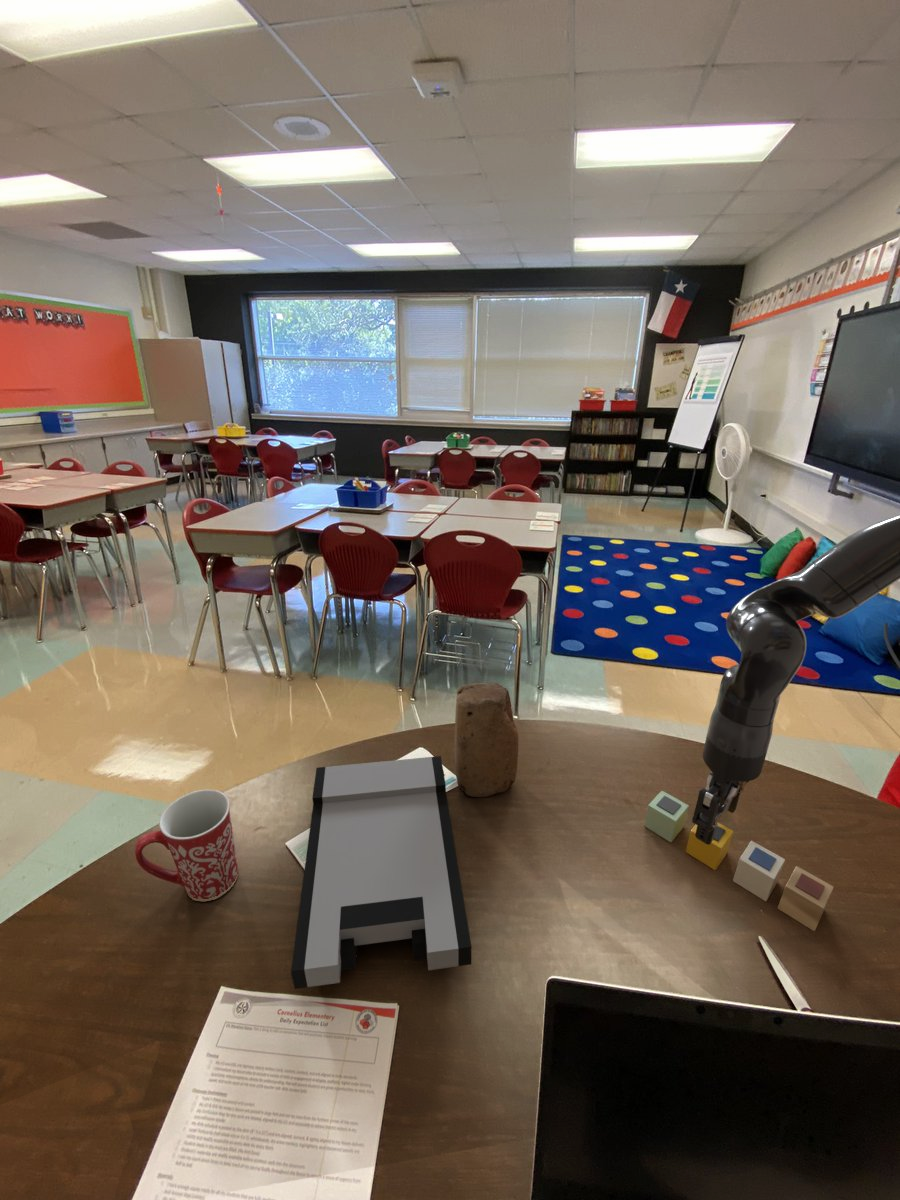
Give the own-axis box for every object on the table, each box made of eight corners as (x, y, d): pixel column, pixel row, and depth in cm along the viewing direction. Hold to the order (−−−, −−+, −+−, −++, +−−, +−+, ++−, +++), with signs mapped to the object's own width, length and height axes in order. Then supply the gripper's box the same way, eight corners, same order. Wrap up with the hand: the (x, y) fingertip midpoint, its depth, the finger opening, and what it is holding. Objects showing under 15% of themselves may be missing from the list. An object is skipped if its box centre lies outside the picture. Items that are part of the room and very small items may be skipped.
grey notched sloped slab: (298, 1007, 64) (289, 964, 61) (321, 804, 93) (316, 767, 90) (470, 983, 67) (471, 940, 63) (441, 792, 95) (440, 756, 92)
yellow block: (698, 835, 87) (703, 813, 85) (727, 852, 84) (734, 830, 82) (685, 852, 84) (690, 829, 82) (715, 870, 81) (721, 848, 79)
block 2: (657, 811, 91) (662, 789, 89) (684, 826, 88) (689, 804, 86) (644, 826, 88) (648, 804, 86) (670, 842, 85) (675, 820, 83)
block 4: (788, 888, 78) (796, 864, 76) (824, 909, 75) (834, 886, 73) (777, 908, 75) (785, 885, 73) (814, 931, 72) (824, 908, 70)
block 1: (456, 800, 94) (456, 705, 85) (453, 770, 101) (453, 679, 92) (518, 797, 94) (524, 702, 86) (511, 767, 101) (516, 676, 93)
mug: (243, 846, 85) (228, 781, 80) (248, 894, 78) (231, 826, 72) (154, 874, 81) (131, 807, 75) (150, 928, 73) (124, 858, 68)
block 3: (744, 862, 82) (751, 839, 80) (777, 881, 79) (785, 858, 77) (732, 881, 79) (739, 858, 77) (766, 901, 76) (774, 878, 74)
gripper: (746, 777, 68) (721, 868, 74) (785, 726, 76) (759, 812, 83) (687, 749, 73) (669, 836, 79) (730, 704, 81) (710, 786, 88)
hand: (715, 823), depth 81 cm, fingers open, 8 cm apart
